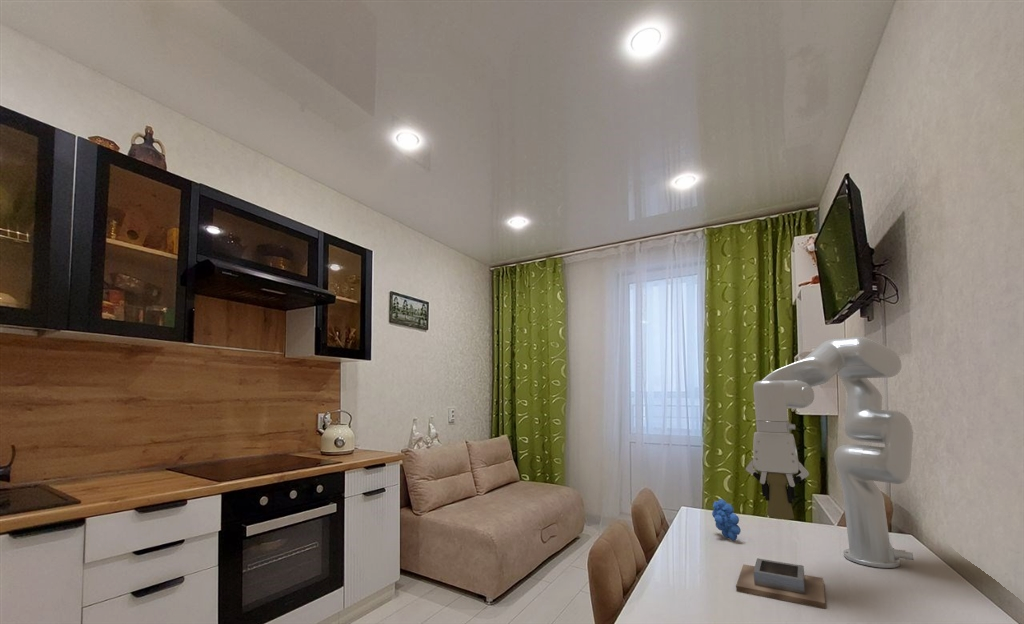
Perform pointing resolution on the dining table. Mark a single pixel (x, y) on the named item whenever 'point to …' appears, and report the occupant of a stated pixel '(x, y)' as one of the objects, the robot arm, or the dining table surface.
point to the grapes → (726, 519)
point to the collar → (779, 575)
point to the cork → (778, 497)
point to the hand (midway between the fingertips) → (778, 500)
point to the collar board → (811, 596)
